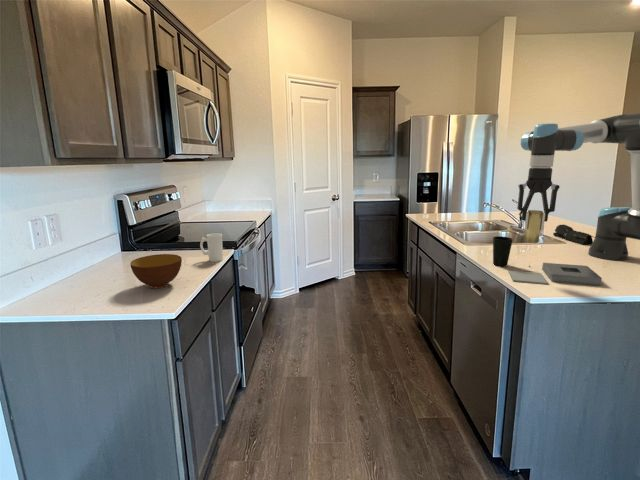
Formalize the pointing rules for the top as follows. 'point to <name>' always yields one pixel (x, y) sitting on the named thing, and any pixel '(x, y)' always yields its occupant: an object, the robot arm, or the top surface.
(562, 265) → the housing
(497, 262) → the cup
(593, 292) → the top surface
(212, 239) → the mug
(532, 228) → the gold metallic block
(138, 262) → the bowl
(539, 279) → the mat
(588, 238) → the black flashlight
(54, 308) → the top surface
